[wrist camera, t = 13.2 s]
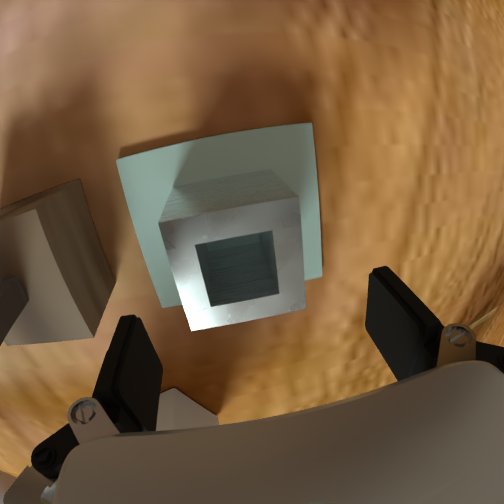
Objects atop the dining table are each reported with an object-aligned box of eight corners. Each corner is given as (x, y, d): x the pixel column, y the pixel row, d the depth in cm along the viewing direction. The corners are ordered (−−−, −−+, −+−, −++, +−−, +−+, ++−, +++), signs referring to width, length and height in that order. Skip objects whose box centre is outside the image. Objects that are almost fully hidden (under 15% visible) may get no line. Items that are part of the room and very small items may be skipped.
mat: (308, 122, 17) (311, 123, 17) (319, 272, 22) (322, 276, 22) (118, 158, 17) (115, 160, 16) (163, 303, 22) (162, 308, 21)
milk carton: (218, 415, 29) (240, 575, 13) (171, 432, 30) (177, 575, 14) (174, 385, 26) (180, 577, 9) (127, 406, 27) (117, 568, 10)
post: (79, 178, 17) (-87, 327, 3) (115, 282, 20) (55, 477, 7) (-1, 209, 16) (-132, 332, 3) (37, 297, 20) (-39, 447, 7)
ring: (270, 169, 18) (299, 196, 12) (280, 255, 21) (306, 308, 15) (172, 187, 17) (158, 222, 12) (193, 272, 20) (191, 330, 15)
